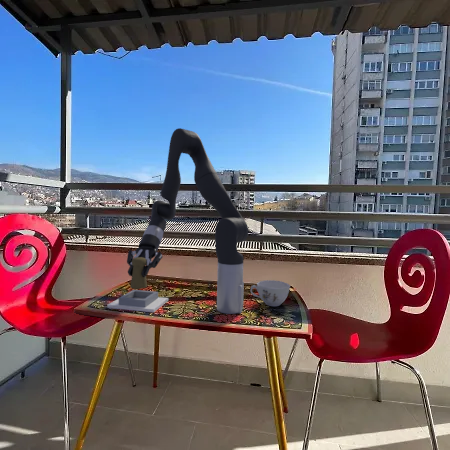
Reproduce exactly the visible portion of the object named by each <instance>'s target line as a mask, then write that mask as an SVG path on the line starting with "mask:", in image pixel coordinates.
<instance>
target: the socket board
mask: <svg viewBox="0 0 450 450" xmlns="http://www.w3.org/2000/svg"><path fill="white" fill-rule="evenodd" d="M167 302H169V297H159V291H152V290H142V289H132V290H131V291H129V292H127V293H125V294H123V295H121V296H120V297H118V298H117V299H116V300H114V301H112V302H110V303H108V304H107V305H106V306H107V307H106V308H108V309H116V310H117V309H118V310H126V311H127V310H129V311H135V312H136V311H138V312H146V313H156V311H157V310H159V309H160V308H161V307H162V306H164V305H165V304H166V303H167Z"/></svg>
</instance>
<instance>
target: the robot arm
mask: <svg viewBox="0 0 450 450" xmlns="http://www.w3.org/2000/svg"><path fill="white" fill-rule="evenodd" d="M204 146H205V145H204V144H203V142H202V139H201V137H200V136H199V134H198V133H197V132H195V131H192V130H188V129H186V128H185V129H184V128H176V129H174V131H173V132H172V133H171V137H170V142H169V148H168V153H167V154H168V155H167V161H166V162H167V163H166V171H165V175H164V176H165V177H164V180H163V184H162V185H161V186H162V187H161V190H160V196H161V198H163V199H164V200H166V201H167V202H168V203H167V202H166V201H162V200H156V201H154V202H153V203H152V204H151V205H152V206H151V216H150V221H149V222H148V225H147V227H146V229H145V230H144V233H143V235H142V236H141V238H140V241H139V243H138V247H137V248H136V249H135V250H134V251H133V250H131V249H129V250H128V253H127V257H126V258H127V259H126V263H127V264H128V266H129V268H128V270H127V273H128V275H129V276H130V277H132V273H133V265H132V260H133V258H136V257H143V258H145V259H146V265H145V266H144V269H143V271H142V276H143V277H146V278H147V276H148V275H149V272H150V270H151V269H155V268H156V267H157V266H158V264H159V263H160V261H161V260H162V259H163V257H164V256H163V254H162V252H161V251H159V252H158V250H159V248H160V245H161V242H162V240H163V237H164V232H165V230H166V227H167V225H168V224H167V221H171V220H173V219H174V218H175V216H176V213H177V211H176V208H177V206H176V203H177V197H178V194H179V191H180V187H181V184H182V177H181V171H180V166H179V165H180V164H179V163H180V158H181V156H182V154H186V155H189V157H190V158H191V160H192V162H193V163H194V175H193V178H194V180H193V181H194V184H195V185H196V188H197V189H198V191H199V194H200V195H201V197H202V198H203V199H204V200H205V202H207V203H208V204H209V206H211V207H212V208H213V209H214V210H215V211H216V212H218V215H219V216H220V217H221V219H220V220H218V221H217V223H216V226H215V228H214V229H215V230H214V232H215V233H214V236H215V237H214V239H215V240H214V241H215V244H214V245H215V254H216V257H217V279H216V280H217V281H216V286H217V287H216V290H217V291H216V310H217V311H218V313H221V314H228V315H233V314H241V313H242V311H243V309H244V294H245V293H244V292H245V291H244V290H245V289H244V288H245V286H244V285H245V284H244V281H243V280H244V255H243V254H242V253H240V252H239V251H238V243H242V242H245V240H247V238H248V236H249V227H248V224H247V222H246V220H245V218H244V217H243V216H242V214H241V213H240V211H239V209H238V208H237V207H236V206H235V204H234V202H233V200H232V199H231V197H230V195H229V193H228V192H227V190H226V188H225V186H224V183H223V182H222V180H221V178H220V177H219V174H218V172H217V171H216V169H215V167H214V166H213V164H212V162H211V160H210V158H209V156H208V154H207V152H206V149H205V147H204ZM166 220H167V221H166Z"/></svg>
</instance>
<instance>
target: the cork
mask: <svg viewBox="0 0 450 450" xmlns="http://www.w3.org/2000/svg"><path fill="white" fill-rule="evenodd" d="M132 265H133V273H132V276H131V279H130V287H129V288H131V289H132V290H142V289H146V288H147V287H148V281H147V276H146V277H143V276H142V271H143V269H144V266H146V259H145V258H143V257H136V258H134V257H133V260H132Z"/></svg>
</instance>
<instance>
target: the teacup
mask: <svg viewBox="0 0 450 450" xmlns="http://www.w3.org/2000/svg"><path fill="white" fill-rule="evenodd" d="M254 289H255V290H256V292H258V295H257V294H256V293H254V292H253V290H254ZM290 289H291V285H290V284H289V283H287V282H284V281H282V280H281V281H280V280H275V279H273V280H272V279H271V280H270V279H269V280H268V279H267V280H260V281H259V282H257V283H256V285H255V284H254V285H253V284H252V285H251V286H250V290H249V291H250V293H251V295H252V296H253V297H256V298H259V299H261V300H262V302H264V303H265V305H267V306H270V307H279V306H281V304H282V303H284V302H285V300H286V299H287V297H288V295H289V292H290Z"/></svg>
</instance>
